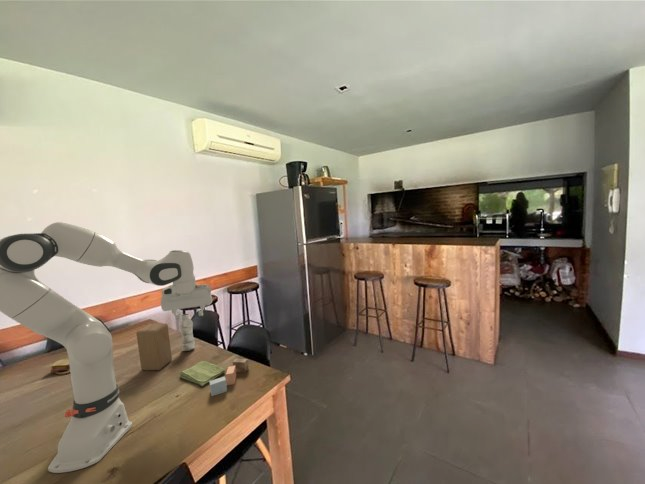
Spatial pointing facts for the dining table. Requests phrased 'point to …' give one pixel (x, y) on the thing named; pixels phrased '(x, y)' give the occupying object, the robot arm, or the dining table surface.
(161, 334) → the block
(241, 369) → the brick walnut
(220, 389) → the brick slate
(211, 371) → the washcloth
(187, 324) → the plastic bottle
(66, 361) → the toy sandwich meal
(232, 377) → the brick terracotta
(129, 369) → the dining table surface
